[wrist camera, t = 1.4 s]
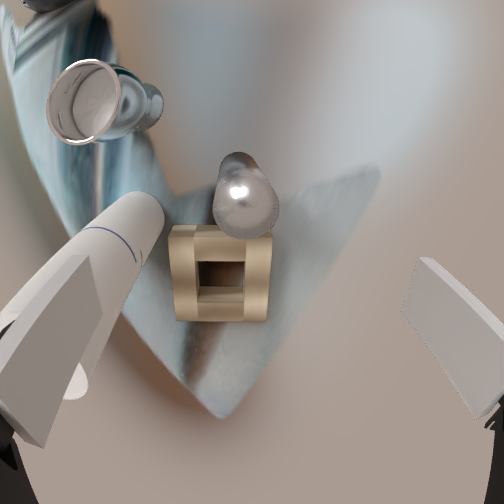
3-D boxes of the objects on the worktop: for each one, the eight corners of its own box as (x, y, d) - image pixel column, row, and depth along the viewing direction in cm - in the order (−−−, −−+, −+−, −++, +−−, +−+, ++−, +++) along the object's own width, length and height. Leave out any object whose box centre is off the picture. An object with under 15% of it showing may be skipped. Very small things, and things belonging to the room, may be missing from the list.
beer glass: (104, 123, 29) (33, 132, 16) (128, 72, 27) (66, 48, 13) (151, 143, 31) (100, 161, 18) (177, 91, 29) (140, 70, 15)
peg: (220, 151, 32) (212, 175, 18) (257, 152, 33) (281, 177, 18) (219, 187, 34) (212, 239, 20) (256, 188, 35) (276, 240, 20)
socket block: (173, 225, 36) (167, 237, 32) (268, 225, 37) (273, 238, 33) (180, 303, 41) (176, 320, 37) (262, 304, 42) (265, 321, 38)
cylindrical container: (152, 183, 33) (37, 301, 11) (172, 234, 36) (110, 397, 14) (105, 202, 34) (-23, 321, 11) (126, 250, 37) (39, 399, 14)
